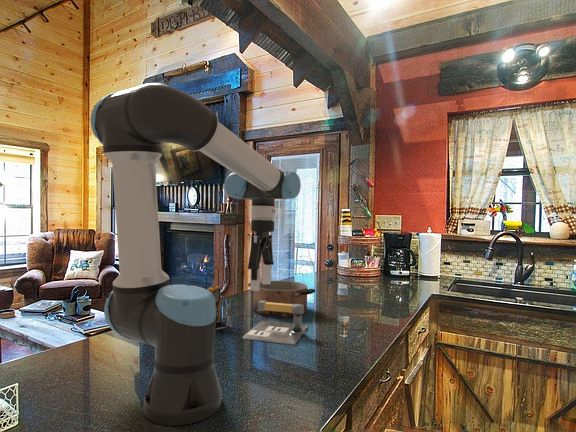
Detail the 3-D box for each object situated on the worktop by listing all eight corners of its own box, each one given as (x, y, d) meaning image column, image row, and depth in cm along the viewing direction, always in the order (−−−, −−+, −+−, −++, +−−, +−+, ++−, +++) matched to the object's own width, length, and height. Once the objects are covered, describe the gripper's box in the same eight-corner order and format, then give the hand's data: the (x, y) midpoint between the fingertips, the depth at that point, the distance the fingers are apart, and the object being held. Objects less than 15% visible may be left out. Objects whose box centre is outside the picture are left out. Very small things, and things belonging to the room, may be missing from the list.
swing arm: (304, 312, 121) (305, 303, 121) (302, 315, 117) (302, 306, 117) (261, 308, 125) (261, 300, 125) (257, 310, 121) (257, 302, 121)
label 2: (285, 333, 118) (285, 332, 118) (264, 331, 120) (264, 329, 120) (288, 329, 123) (288, 327, 123) (269, 327, 124) (269, 325, 124)
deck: (298, 345, 110) (299, 322, 110) (242, 338, 114) (243, 316, 114) (310, 327, 128) (310, 307, 128) (261, 322, 132) (262, 303, 132)
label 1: (267, 338, 113) (267, 336, 113) (246, 335, 115) (247, 334, 115) (272, 333, 118) (272, 331, 118) (252, 331, 120) (252, 329, 120)
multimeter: (227, 332, 120) (229, 272, 120) (199, 329, 122) (201, 270, 122) (241, 320, 134) (243, 267, 135) (216, 318, 136) (218, 265, 137)
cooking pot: (235, 311, 148) (235, 285, 148) (263, 301, 168) (264, 278, 168) (300, 322, 134) (301, 294, 134) (323, 310, 154) (324, 285, 154)
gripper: (262, 219, 104) (260, 295, 104) (283, 220, 127) (281, 282, 127) (238, 218, 106) (236, 293, 106) (263, 219, 129) (261, 280, 129)
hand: (260, 287), depth 116 cm, fingers open, 11 cm apart
